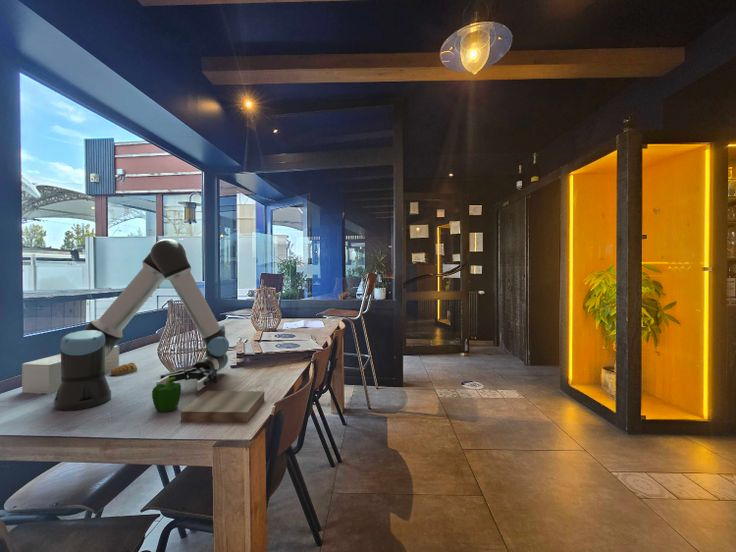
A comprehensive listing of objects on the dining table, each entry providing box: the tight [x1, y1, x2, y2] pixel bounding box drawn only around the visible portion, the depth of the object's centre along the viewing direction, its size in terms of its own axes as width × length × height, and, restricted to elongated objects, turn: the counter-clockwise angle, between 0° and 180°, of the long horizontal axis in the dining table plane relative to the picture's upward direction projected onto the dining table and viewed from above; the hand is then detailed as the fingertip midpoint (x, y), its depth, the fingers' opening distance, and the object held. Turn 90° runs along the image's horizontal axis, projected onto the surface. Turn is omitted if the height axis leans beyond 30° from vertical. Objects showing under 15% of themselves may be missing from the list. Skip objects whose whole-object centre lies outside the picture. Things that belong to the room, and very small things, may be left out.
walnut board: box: [179, 390, 265, 423], centre depth 116 cm, size 20×18×3 cm
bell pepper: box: [151, 377, 182, 413], centre depth 116 cm, size 8×8×10 cm
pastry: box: [110, 362, 138, 376], centre depth 154 cm, size 9×7×4 cm
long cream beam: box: [21, 345, 120, 395], centre depth 144 cm, size 32×11×11 cm, turn 175°
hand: (177, 386), depth 121 cm, fingers open, 13 cm apart
